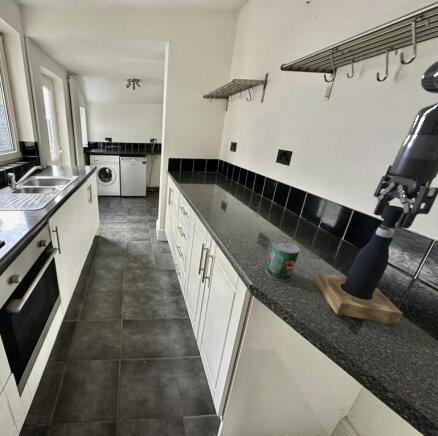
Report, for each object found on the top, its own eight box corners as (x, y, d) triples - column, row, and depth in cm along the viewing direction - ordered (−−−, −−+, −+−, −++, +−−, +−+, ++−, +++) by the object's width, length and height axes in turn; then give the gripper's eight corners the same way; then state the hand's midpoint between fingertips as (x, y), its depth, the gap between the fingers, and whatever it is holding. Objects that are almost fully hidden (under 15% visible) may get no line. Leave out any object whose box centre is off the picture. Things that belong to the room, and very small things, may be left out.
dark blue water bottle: (370, 312, 65) (422, 213, 54) (343, 306, 67) (387, 209, 56) (360, 297, 71) (405, 205, 59) (335, 292, 73) (374, 202, 61)
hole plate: (364, 290, 74) (369, 280, 72) (396, 324, 61) (403, 313, 60) (315, 283, 77) (319, 273, 75) (336, 314, 64) (341, 302, 63)
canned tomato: (290, 284, 76) (300, 255, 72) (264, 276, 79) (272, 248, 75) (290, 271, 82) (299, 244, 78) (266, 265, 86) (273, 238, 82)
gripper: (473, 161, 46) (431, 234, 52) (414, 153, 58) (387, 213, 65) (426, 158, 47) (391, 230, 53) (380, 151, 60) (356, 210, 66)
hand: (389, 220), depth 59 cm, fingers open, 8 cm apart
